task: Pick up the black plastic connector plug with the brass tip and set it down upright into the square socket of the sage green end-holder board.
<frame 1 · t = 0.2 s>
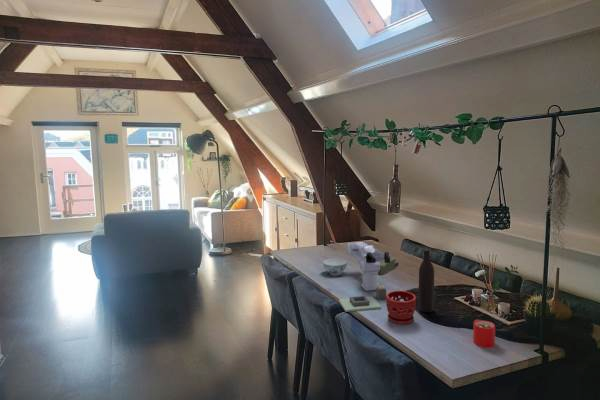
hand: (382, 260, 211), 21 cm above the table, tool horizontal, fingers open, 7 cm apart
handheld radio: (389, 270, 266), on the table
red cylinder: (481, 341, 169), on the table
wine bottle: (426, 310, 200), on the table
chinaware: (335, 274, 261), on the table
connector plug: (381, 297, 219), on the table
plant pot: (400, 321, 190), on the table
end holder: (359, 304, 210), on the table
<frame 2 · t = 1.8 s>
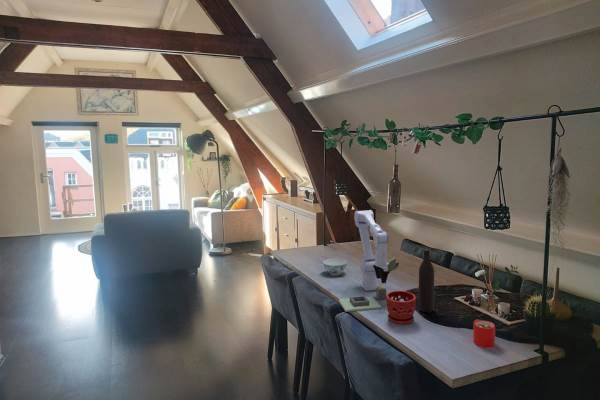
hand: (381, 280, 217), 9 cm above the table, tool pointing down, fingers open, 7 cm apart
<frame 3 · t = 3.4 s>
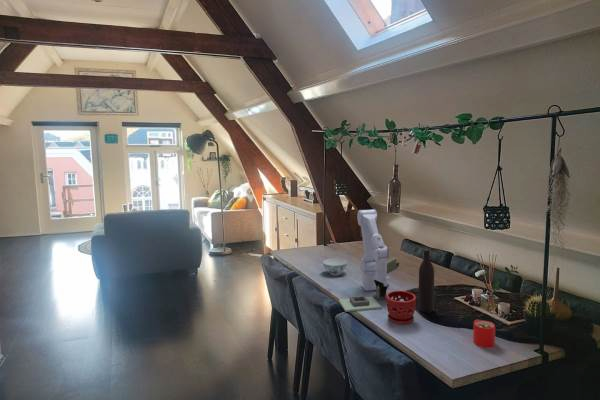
hand: (381, 294, 218), 1 cm above the table, tool pointing down, fingers closed on connector plug, 4 cm apart
connector plug: (381, 297, 219), on the table, touching gripper
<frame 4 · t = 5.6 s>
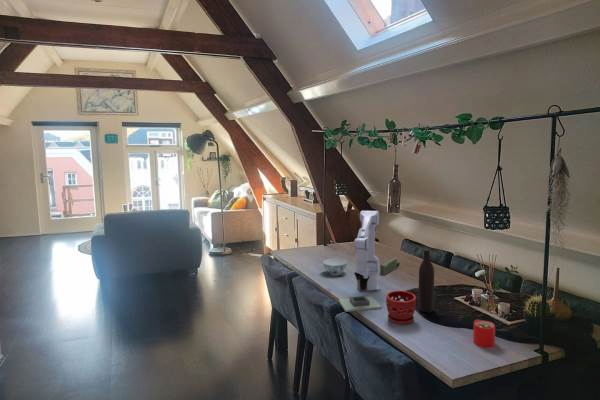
hand: (361, 287, 210), 9 cm above the table, tool pointing down, fingers closed on connector plug, 4 cm apart
connector plug: (362, 290, 210), point 7 cm above the table, touching gripper
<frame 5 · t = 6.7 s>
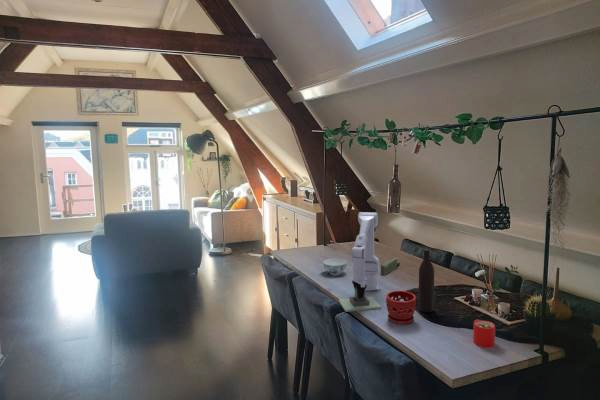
hand: (359, 296, 209), 4 cm above the table, tool pointing down, fingers closed on connector plug, 4 cm apart
connector plug: (359, 299, 209), point 3 cm above the table, touching gripper
when the fingers open (4 cm above the table, at t = 7.7 s): connector plug drops 1 cm, resting on end holder.
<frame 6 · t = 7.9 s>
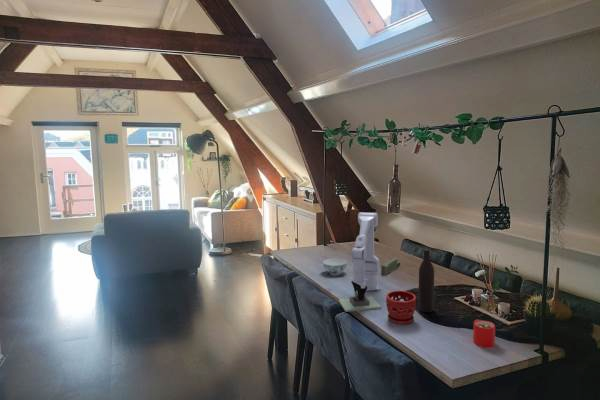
hand: (359, 297, 209), 4 cm above the table, tool pointing down, fingers open, 6 cm apart
connector plug: (359, 302, 210), point 1 cm above the table, touching end holder
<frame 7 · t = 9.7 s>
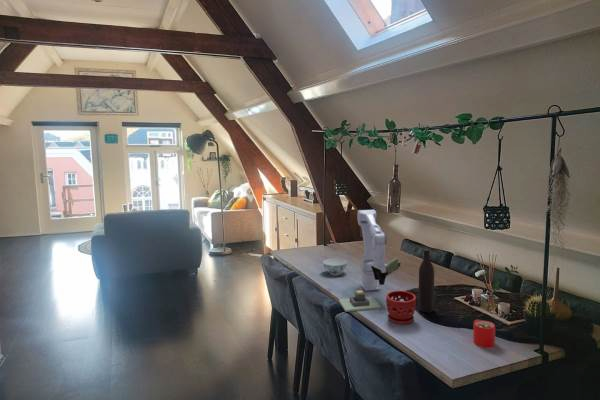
hand: (379, 282, 215), 9 cm above the table, tool pointing down, fingers open, 7 cm apart
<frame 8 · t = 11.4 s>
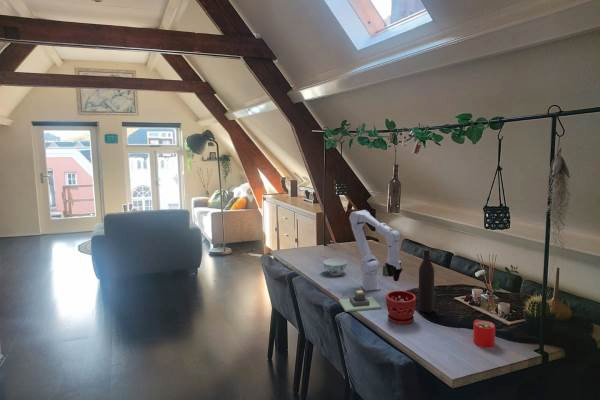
hand: (393, 278, 219), 9 cm above the table, tool pointing down, fingers open, 7 cm apart
at the end: connector plug 0.2 cm off-centre on the end holder, point 1.0 cm above the end holder's base; connector plug tilted 0°; the gripper is holding nothing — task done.
